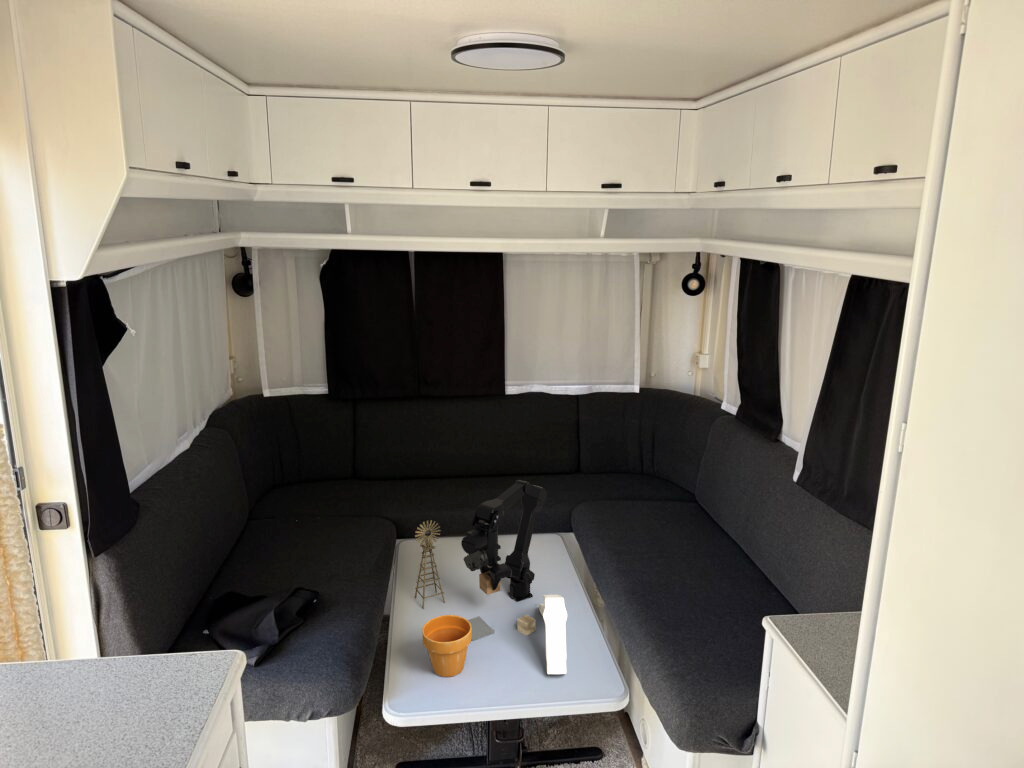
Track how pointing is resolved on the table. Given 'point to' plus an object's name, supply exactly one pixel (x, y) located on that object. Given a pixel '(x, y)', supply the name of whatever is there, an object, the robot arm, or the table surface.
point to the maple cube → (526, 625)
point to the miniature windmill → (429, 547)
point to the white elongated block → (555, 633)
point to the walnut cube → (487, 584)
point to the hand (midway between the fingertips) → (489, 586)
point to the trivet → (479, 628)
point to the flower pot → (447, 643)
